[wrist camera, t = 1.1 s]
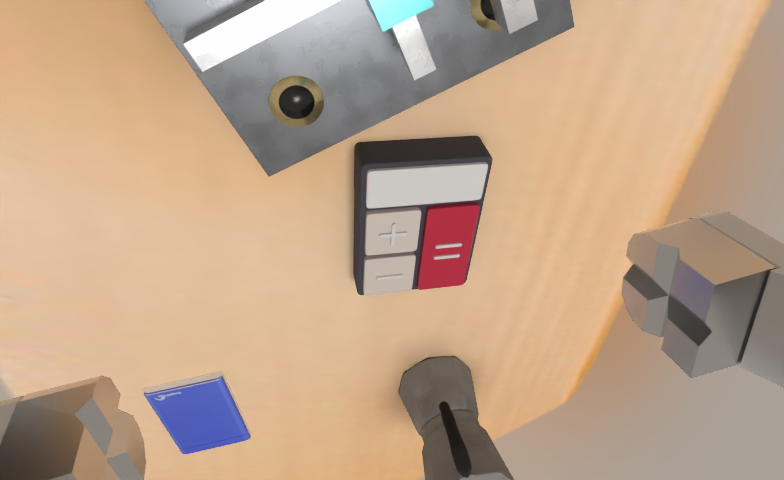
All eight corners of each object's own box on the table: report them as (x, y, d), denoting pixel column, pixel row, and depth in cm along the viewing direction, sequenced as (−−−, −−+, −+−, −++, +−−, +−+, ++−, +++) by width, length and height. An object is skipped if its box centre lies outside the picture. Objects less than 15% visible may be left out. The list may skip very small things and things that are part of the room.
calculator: (358, 302, 52) (362, 170, 42) (351, 270, 55) (354, 140, 45) (468, 289, 54) (497, 161, 44) (456, 260, 57) (480, 134, 47)
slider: (382, -90, 33) (408, -69, 28) (431, 43, 39) (461, 81, 34) (335, -65, 33) (352, -39, 28) (391, 64, 39) (414, 104, 34)
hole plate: (517, -235, 32) (562, -241, 27) (565, 20, 42) (603, 47, 37) (134, -25, 34) (117, 1, 30) (268, 167, 44) (270, 208, 40)
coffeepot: (476, 396, 72) (530, 537, 58) (408, 418, 72) (446, 564, 58) (460, 323, 62) (522, 472, 48) (381, 347, 62) (420, 504, 48)
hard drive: (143, 396, 57) (181, 455, 65) (221, 379, 58) (250, 440, 66) (145, 383, 58) (183, 443, 66) (222, 367, 59) (250, 428, 67)
